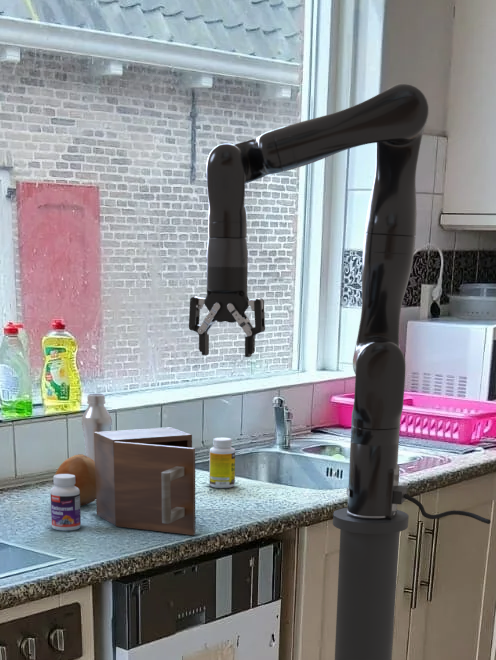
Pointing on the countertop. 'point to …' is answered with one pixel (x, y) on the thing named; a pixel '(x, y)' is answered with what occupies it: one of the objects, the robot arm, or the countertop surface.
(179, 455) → the door
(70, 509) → the pill bottle
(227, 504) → the countertop surface
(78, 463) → the onion
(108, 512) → the cabinet
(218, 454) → the supplement bottle
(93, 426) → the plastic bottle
